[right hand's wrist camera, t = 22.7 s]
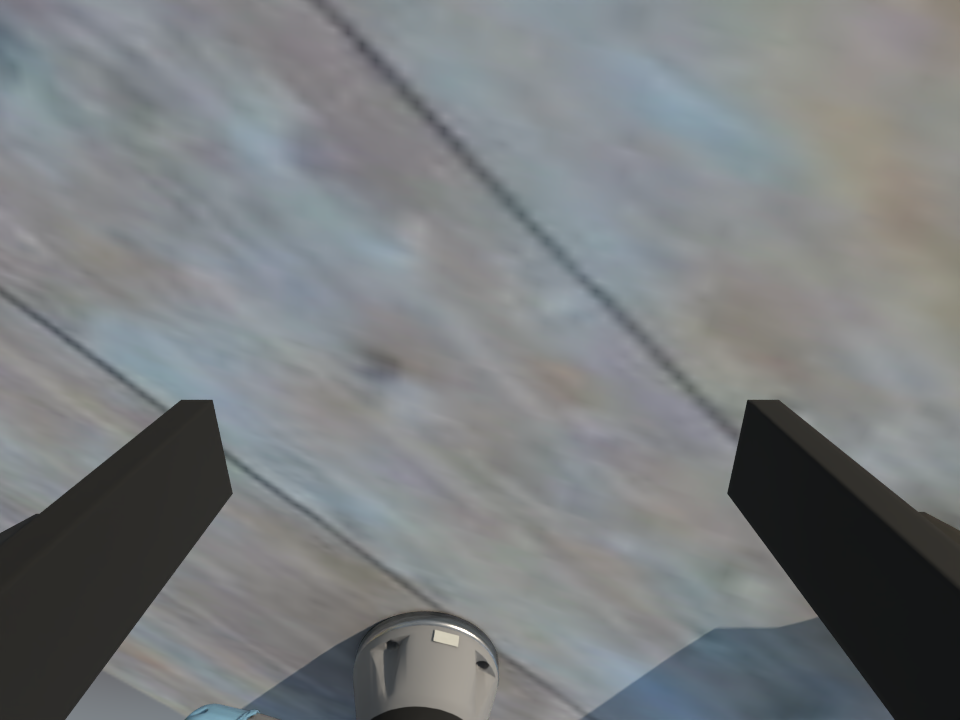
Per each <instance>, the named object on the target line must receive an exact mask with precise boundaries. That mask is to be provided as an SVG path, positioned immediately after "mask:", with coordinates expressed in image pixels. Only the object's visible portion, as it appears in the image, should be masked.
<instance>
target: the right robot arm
mask: <svg viewBox="0 0 960 720" xmlns="http://www.w3.org/2000/svg"><path fill="white" fill-rule="evenodd" d="M232 494H233V493H232V488H231V484H230V479H229V474H228V470H227V465H226V460H225V456H224V451H223V446H222V442H221V437H220V432H219V428H218V423H217V418H216V414H215V409H214V405H213V400H181V401H179V402H178V403H177V404H176V405H174V406H173V407H172V408H171V409H169V410H168V411H167V412H166V413H164V414H163V415H162V416H161V417H159V418H158V419H157V420H156V421H154V422H153V423H152V424H151V425H149V426H148V427H147V428H146V429H145V430H143V431H142V432H141V433H140V434H138V435H137V436H136V437H135V438H133V439H132V440H131V441H130V442H128V443H127V444H126V445H125V446H123V447H122V448H121V449H120V450H118V451H117V452H116V453H115V454H113V455H112V456H111V457H110V458H108V459H107V460H106V461H105V462H103V463H102V464H101V465H100V466H99V467H97V468H96V469H95V470H94V471H92V472H91V473H90V474H89V475H87V476H86V477H85V478H84V479H82V480H81V481H80V482H79V483H77V484H76V485H75V486H74V487H72V488H71V489H70V490H69V491H67V492H66V493H65V494H64V495H62V496H61V497H60V498H59V499H57V500H56V501H55V502H54V503H53V504H51V505H50V506H49V507H48V508H46V509H45V510H44V511H43V512H41V513H40V514H35V515H33V516H31V517H29V518H28V519H26V520H24V521H22V522H20V523H18V524H16V525H15V526H13V527H11V528H9V529H7V530H5V531H3V532H1V533H0V720H65V719H66V718H67V716H68V715H69V714H70V712H71V711H72V710H73V708H74V707H75V706H76V704H77V703H78V702H79V700H80V699H81V698H82V696H83V695H84V694H85V692H86V691H87V689H88V688H89V687H90V685H91V684H92V683H93V681H94V680H95V679H96V677H97V676H98V675H99V673H100V672H101V671H102V669H103V668H104V667H105V665H106V664H107V662H108V661H109V660H110V658H111V657H112V656H113V654H114V653H115V652H116V650H117V649H118V648H119V646H120V645H121V644H122V642H123V641H124V640H125V638H126V637H127V635H128V634H129V633H130V631H131V630H132V629H133V627H134V626H135V625H136V623H137V622H138V621H139V619H140V618H141V617H142V615H143V614H144V613H145V611H146V610H147V608H148V607H149V606H150V604H151V603H152V602H153V600H154V599H155V598H156V596H157V595H158V594H159V592H160V591H161V590H162V588H163V587H164V586H165V584H166V583H167V581H168V580H169V579H170V577H171V576H172V575H173V573H174V572H175V571H176V569H177V568H178V567H179V565H180V564H181V563H182V561H183V560H184V559H185V557H186V556H187V554H188V553H189V552H190V550H191V549H192V548H193V546H194V545H195V544H196V542H197V541H198V540H199V538H200V537H201V536H202V534H203V533H204V532H205V530H206V529H207V527H208V526H209V525H210V523H211V522H212V521H213V519H214V518H215V517H216V515H217V514H218V513H219V511H220V510H221V509H222V507H223V506H224V505H225V503H226V502H227V500H228V499H229V498H230V496H231V495H232ZM727 494H728V495H729V496H730V498H731V499H732V500H733V502H734V503H735V505H736V506H737V507H738V509H739V510H740V511H741V513H742V514H743V515H744V517H745V518H746V519H747V521H748V522H749V523H750V525H751V526H752V527H753V529H754V530H755V532H756V533H757V534H758V536H759V537H760V538H761V540H762V541H763V542H764V544H765V545H766V546H767V548H768V549H769V550H770V552H771V553H772V554H773V556H774V557H775V559H776V560H777V561H778V563H779V564H780V565H781V567H782V568H783V569H784V571H785V572H786V573H787V575H788V576H789V577H790V579H791V580H792V581H793V583H794V584H795V586H796V587H797V588H798V590H799V591H800V592H801V594H802V595H803V596H804V598H805V599H806V600H807V602H808V603H809V604H810V606H811V607H812V608H813V610H814V611H815V613H816V614H817V615H818V617H819V618H820V619H821V621H822V622H823V623H824V625H825V626H826V627H827V629H828V630H829V631H830V633H831V634H832V635H833V637H834V638H835V640H836V641H837V642H838V644H839V645H840V646H841V648H842V649H843V650H844V652H845V653H846V654H847V656H848V657H849V658H850V660H851V661H852V662H853V664H854V665H855V667H856V668H857V669H858V671H859V672H860V673H861V675H862V676H863V677H864V679H865V680H866V681H867V683H868V684H869V685H870V687H871V688H872V689H873V691H874V692H875V694H876V695H877V696H878V698H879V699H880V700H881V702H882V703H883V704H884V706H885V707H886V708H887V710H888V711H889V712H890V714H891V715H892V716H893V718H894V719H895V720H960V531H959V530H957V529H955V528H953V527H952V526H950V525H948V524H946V523H944V522H942V521H940V520H938V519H936V518H935V517H933V516H931V515H929V514H927V513H925V512H917V511H916V510H915V509H914V508H912V507H911V506H910V505H909V504H907V503H906V502H905V501H904V500H903V499H901V498H900V497H899V496H898V495H896V494H895V493H894V492H893V491H891V490H890V489H889V488H888V487H886V486H885V485H884V484H883V483H881V482H880V481H879V480H878V479H876V478H875V477H874V476H873V475H871V474H870V473H869V472H868V471H866V470H865V469H864V468H863V467H861V466H860V465H859V464H858V463H857V462H855V461H854V460H853V459H852V458H850V457H849V456H848V455H847V454H845V453H844V452H843V451H842V450H840V449H839V448H838V447H837V446H835V445H834V444H833V443H832V442H830V441H829V440H828V439H827V438H825V437H824V436H823V435H822V434H820V433H819V432H818V431H817V430H815V429H814V428H813V427H812V426H811V425H809V424H808V423H807V422H806V421H804V420H803V419H802V418H801V417H799V416H798V415H797V414H796V413H794V412H793V411H792V410H791V409H789V408H788V407H787V406H786V405H784V404H783V403H782V402H781V401H779V400H747V404H746V409H745V414H744V418H743V423H742V428H741V432H740V437H739V442H738V446H737V451H736V456H735V460H734V465H733V470H732V474H731V479H730V484H729V488H728V493H727ZM498 682H499V671H498V657H497V653H496V650H495V648H494V646H493V644H492V642H491V641H490V639H489V638H488V637H487V636H486V635H485V634H484V633H483V632H482V631H481V630H480V629H479V628H477V627H476V626H474V625H473V624H471V623H469V622H468V621H466V620H463V619H461V618H458V617H456V616H452V615H449V614H444V613H439V612H426V611H424V612H410V613H405V614H401V615H397V616H394V617H391V618H389V619H387V620H385V621H383V622H381V623H379V624H378V625H376V626H375V627H374V628H372V629H371V630H370V631H369V632H368V633H367V634H366V635H365V637H364V638H363V640H362V641H361V643H360V645H359V648H358V651H357V655H356V659H355V663H354V667H353V686H354V697H355V709H356V720H488V719H489V715H490V712H491V709H492V705H493V702H494V698H495V695H496V692H497V687H498ZM185 720H280V719H277V718H273V717H270V716H267V715H264V714H260V712H259V711H258V710H255V709H253V710H250V711H247V710H242V709H237V708H233V707H229V706H225V705H220V704H209V705H205V706H202V707H200V708H198V709H197V710H195V711H194V712H192V713H191V714H190V715H189V716H188V717H187V718H186V719H185Z"/></svg>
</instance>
